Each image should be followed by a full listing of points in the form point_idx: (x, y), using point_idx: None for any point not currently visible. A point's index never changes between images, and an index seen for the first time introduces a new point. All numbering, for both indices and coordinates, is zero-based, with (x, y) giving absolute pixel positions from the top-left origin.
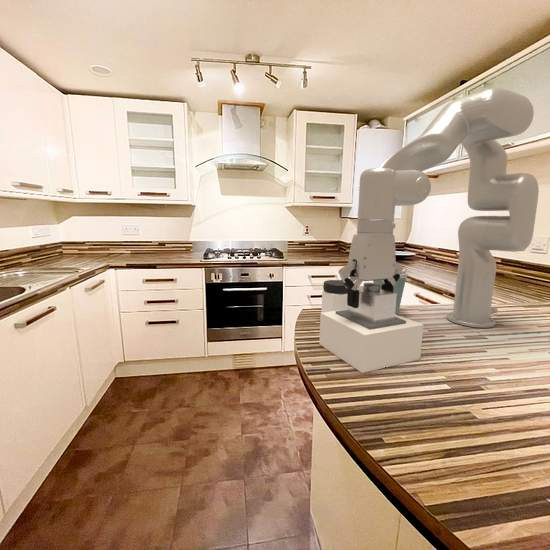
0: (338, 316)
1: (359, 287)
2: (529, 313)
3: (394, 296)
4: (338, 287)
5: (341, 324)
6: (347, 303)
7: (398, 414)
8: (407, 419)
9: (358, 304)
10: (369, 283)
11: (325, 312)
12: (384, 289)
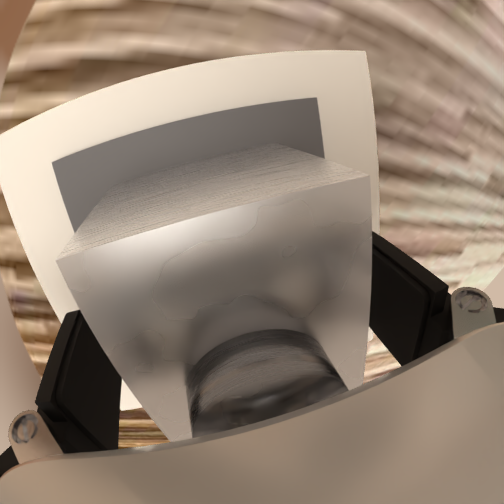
0: (58, 216)
1: (196, 277)
2: None
3: None
4: None
5: (58, 313)
6: (66, 315)
7: (149, 423)
8: (157, 429)
9: (119, 385)
10: (271, 410)
11: (12, 133)
12: (402, 308)
